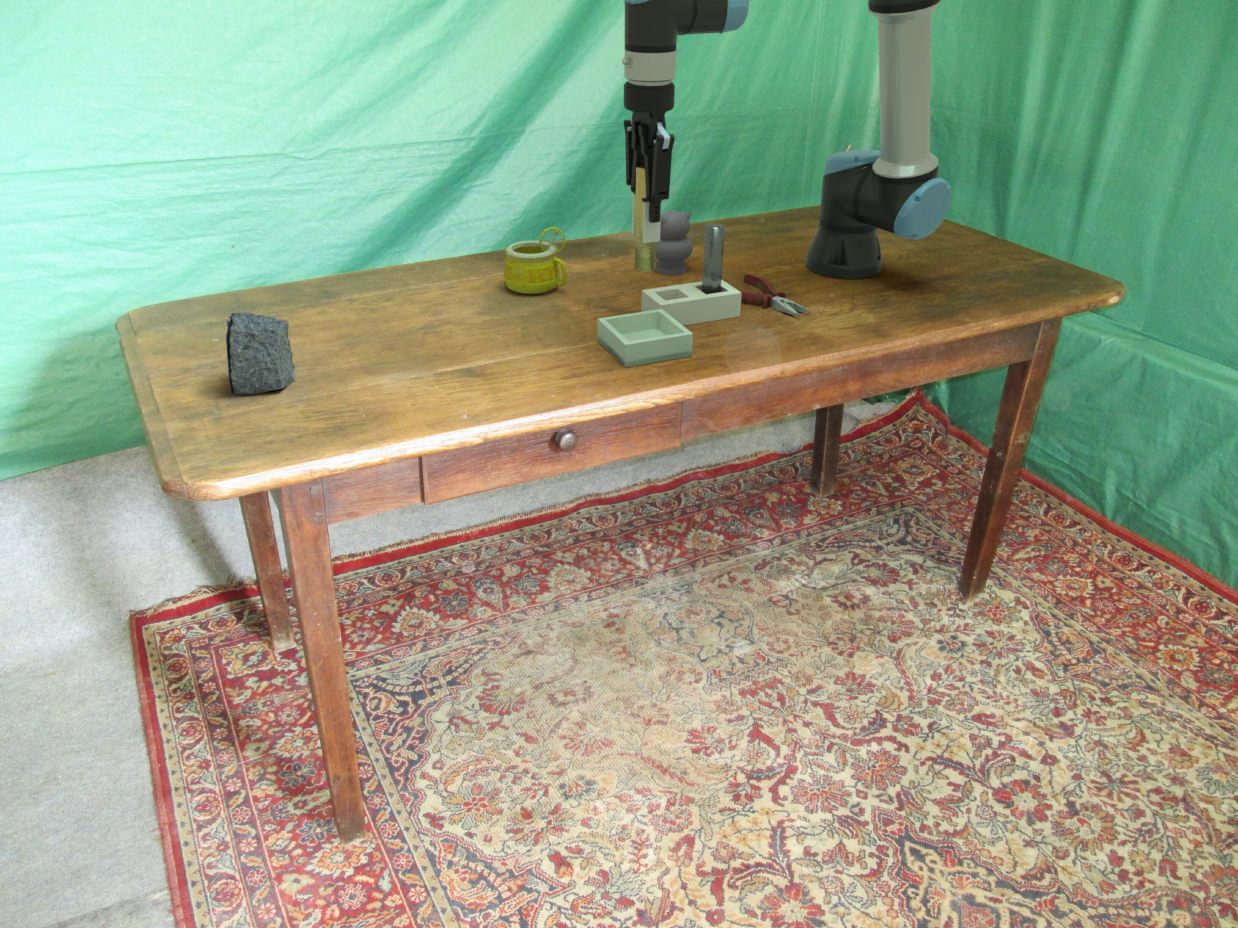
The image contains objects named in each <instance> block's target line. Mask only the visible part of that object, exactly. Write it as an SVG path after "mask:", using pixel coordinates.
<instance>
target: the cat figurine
mask: <svg viewBox="0 0 1238 928" xmlns="http://www.w3.org/2000/svg"><path fill="white" fill-rule="evenodd" d="M693 211H694V210H691V211H686V212H681V211H677V210H669V211H665V212H663V213H661V225H660V241H657V242H656V260H657V261H656V267H655V271H656V273H658V274H661V275H665V276H680V275H684V274H685V273H687V271H688V263H687V262H686V260H687V259H689V257H690V256H691V255H692V252H693V250H694V245H693V242H692V240H691V238H690V237H689V236H687V235H688V233H689V232H690V229H691V223H690V219H691V216H692V214H693Z"/></svg>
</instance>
